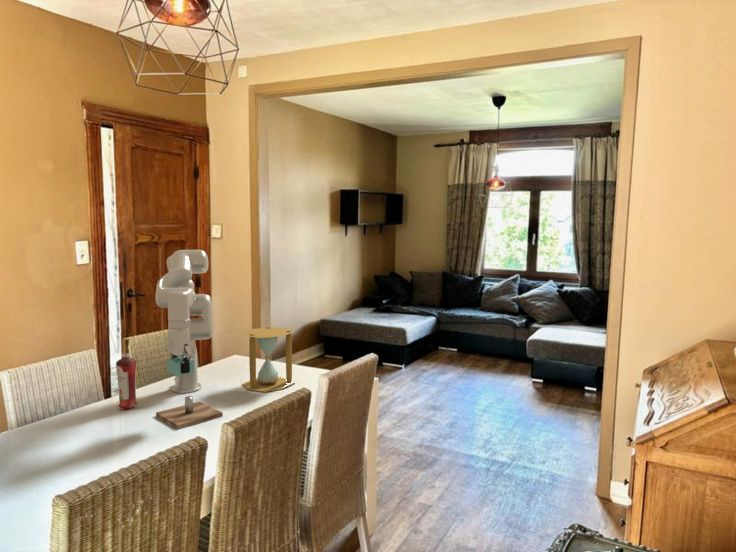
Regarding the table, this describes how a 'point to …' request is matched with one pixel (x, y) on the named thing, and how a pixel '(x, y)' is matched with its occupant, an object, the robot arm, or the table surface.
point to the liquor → (126, 378)
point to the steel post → (189, 404)
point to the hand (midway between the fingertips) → (180, 370)
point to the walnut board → (188, 415)
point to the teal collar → (178, 366)
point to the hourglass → (268, 359)
